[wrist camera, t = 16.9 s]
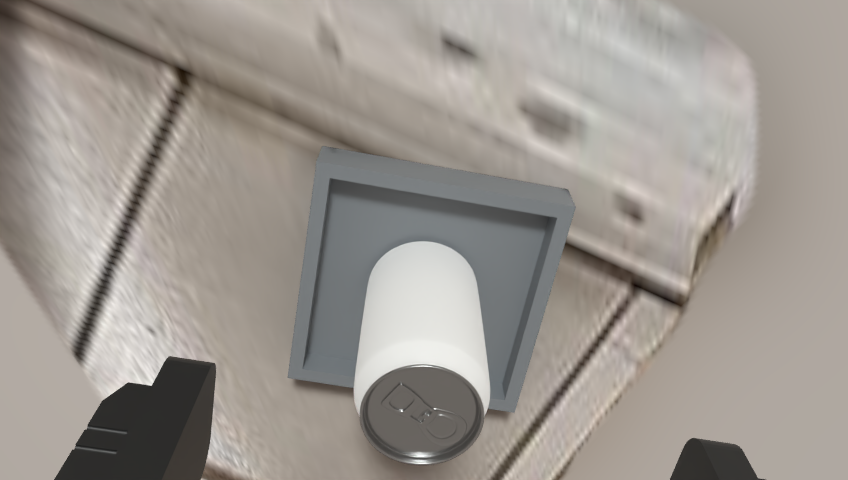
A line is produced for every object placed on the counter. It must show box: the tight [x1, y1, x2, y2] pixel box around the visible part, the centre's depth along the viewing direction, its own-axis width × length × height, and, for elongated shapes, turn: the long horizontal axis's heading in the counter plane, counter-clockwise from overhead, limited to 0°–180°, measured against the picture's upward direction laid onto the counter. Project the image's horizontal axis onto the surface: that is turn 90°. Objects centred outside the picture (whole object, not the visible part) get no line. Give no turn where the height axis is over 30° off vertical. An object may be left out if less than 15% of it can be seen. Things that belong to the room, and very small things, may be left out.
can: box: [354, 241, 490, 465], centre depth 40 cm, size 6×6×12 cm
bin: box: [288, 146, 576, 412], centre depth 44 cm, size 14×14×2 cm
